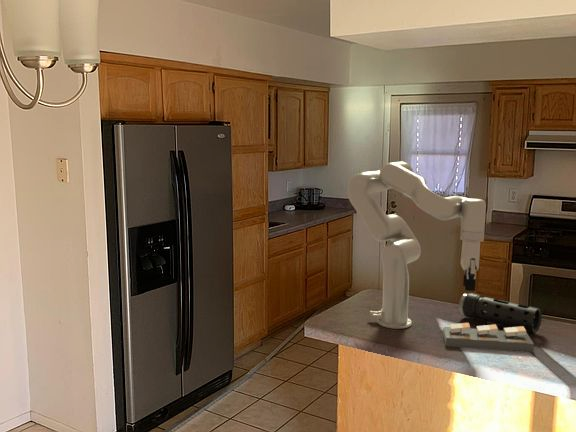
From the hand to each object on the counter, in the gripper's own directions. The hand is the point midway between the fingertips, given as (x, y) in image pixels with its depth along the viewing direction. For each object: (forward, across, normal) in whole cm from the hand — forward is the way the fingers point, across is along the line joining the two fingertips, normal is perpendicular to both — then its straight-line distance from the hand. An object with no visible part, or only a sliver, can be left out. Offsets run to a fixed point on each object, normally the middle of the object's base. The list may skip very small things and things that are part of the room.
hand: (469, 287), depth 195 cm
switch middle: (+14, 0, +7) cm, 16 cm away
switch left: (+14, 0, -2) cm, 14 cm away
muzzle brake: (+20, -19, +14) cm, 31 cm away
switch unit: (+19, 0, +7) cm, 20 cm away
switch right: (+14, 0, +16) cm, 21 cm away
